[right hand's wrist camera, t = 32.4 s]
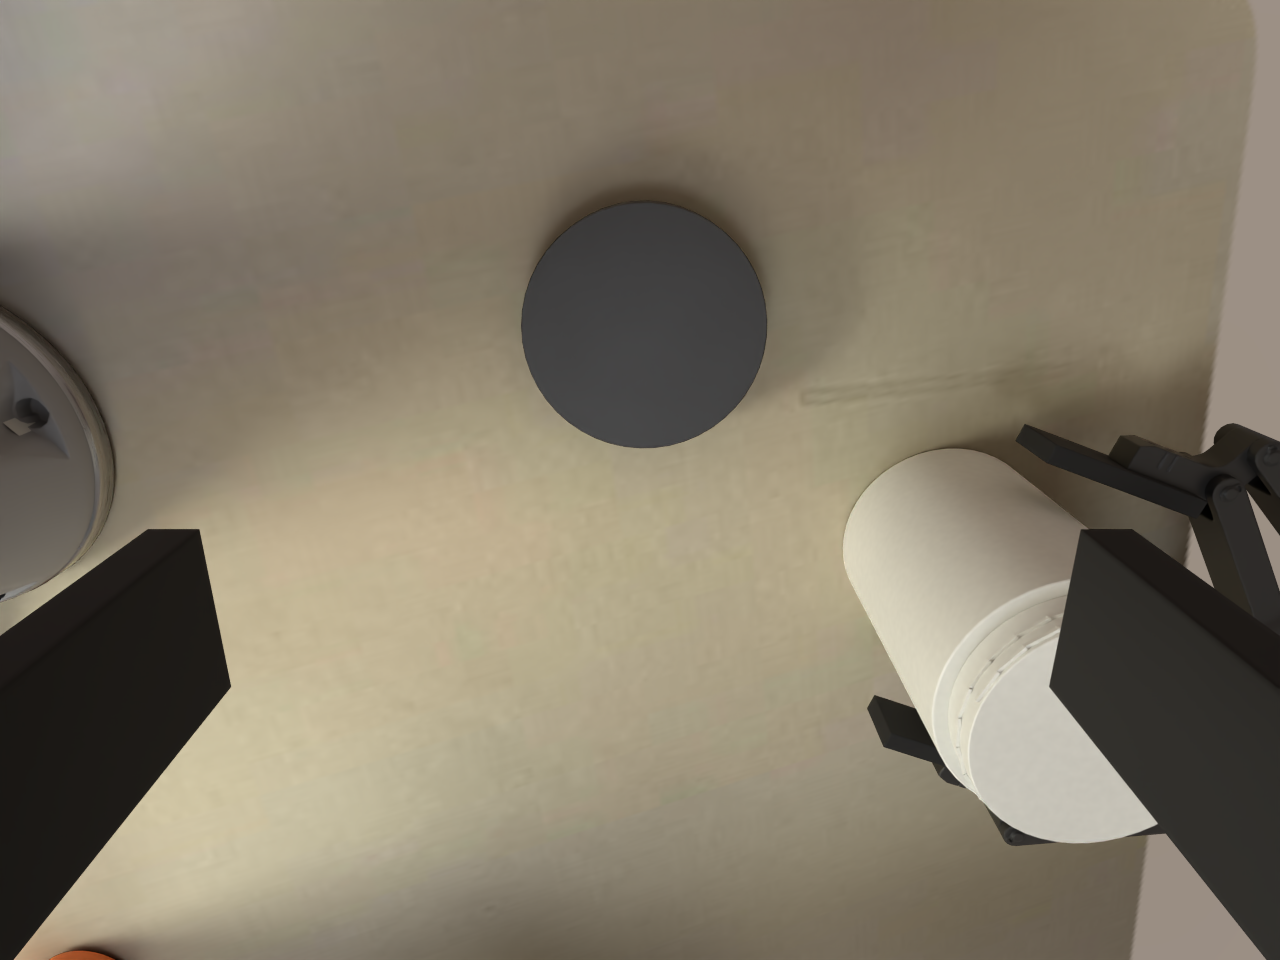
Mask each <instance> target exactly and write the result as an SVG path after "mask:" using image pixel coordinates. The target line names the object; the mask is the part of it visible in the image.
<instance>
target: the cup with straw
mask: <svg viewBox="0 0 1280 960" xmlns="http://www.w3.org/2000/svg"><path fill="white" fill-rule="evenodd" d="M50 960H115V959H113V958H111V957H108V956H106V955H103V954H100V953H95V952H90V951H70V952H65V953H61V954H59V955H56V956H54V957H52V958H51V959H50Z"/></svg>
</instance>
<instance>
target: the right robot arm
mask: <svg viewBox="0 0 1280 960" xmlns="http://www.w3.org/2000/svg"><path fill="white" fill-rule="evenodd" d="M113 486H114V466H113V458H112V451H111V447H110V442H109V438H108V435H107V432H106V429H105V426H104V422H103V420H102V418H101V415H100V413H99V411H98V409H97V406H96V404H95V403H94V401H93V399H92V397H91V395H90V393H89V391H88V390H87V388H86V387H85V385H84V384H83V382H82V381H81V379H80V378H79V376H78V375H77V374H76V372H75V371H74V370H73V368H72V367H71V366H70V365H69V363H68V362H67V361H66V360H65V359H64V358H63V357H62V355H61V354H60V353H59V352H58V351H57V350H56V349H55V348H54V347H53V346H52V345H51V344H50V343H49V342H48V341H47V340H46V339H45V338H44V337H42V336H41V335H40V334H39V333H38V332H37V331H35V330H34V329H33V328H32V327H30V326H29V325H28V324H27V323H25V322H24V321H22V320H21V319H19V318H18V317H16V316H15V315H14V314H12V313H11V312H9V311H7V310H6V309H4V308H2V307H0V602H3V601H6V600H9V599H12V598H15V597H17V596H19V595H21V594H24V593H26V592H29V591H31V590H33V589H35V588H37V587H39V586H41V585H43V584H45V583H46V582H48V581H49V580H51V579H52V578H54V577H55V576H57V575H58V574H59V573H61V572H62V571H64V570H65V569H67V568H68V567H69V566H71V565H72V564H74V563H75V562H76V561H77V560H78V559H79V558H81V557H82V556H83V555H84V554H85V553H86V551H87V550H88V549H89V548H90V547H91V546H92V544H93V543H94V541H95V540H96V538H97V537H98V535H99V534H100V532H101V530H102V528H103V526H104V524H105V522H106V519H107V516H108V513H109V510H110V506H111V501H112V496H113ZM230 688H231V684H230V679H229V674H228V669H227V664H226V659H225V654H224V649H223V644H222V639H221V634H220V629H219V624H218V619H217V614H216V610H215V605H214V600H213V595H212V590H211V585H210V580H209V575H208V570H207V565H206V560H205V555H204V550H203V545H202V540H201V535H200V530H199V529H148V530H146V531H145V532H143V533H142V534H141V535H139V536H138V537H136V538H135V539H134V540H132V541H131V542H130V543H128V544H127V545H125V546H124V547H123V548H121V549H120V550H118V551H117V552H116V553H114V554H113V555H112V556H110V557H109V558H107V559H106V560H105V561H103V562H102V563H100V564H99V565H98V566H96V567H95V568H94V569H92V570H91V571H89V572H88V573H87V574H85V575H84V576H82V577H81V578H80V579H78V580H77V581H76V582H74V583H73V584H71V585H70V586H69V587H67V588H66V589H64V590H63V591H62V592H60V593H59V594H57V595H56V596H55V597H53V598H52V599H51V600H49V601H48V602H46V603H45V604H44V605H42V606H41V607H39V608H38V609H37V610H35V611H34V612H33V613H31V614H30V615H28V616H27V617H26V618H24V619H23V620H21V621H20V622H19V623H17V624H16V625H15V626H13V627H12V628H10V629H9V630H8V631H6V632H5V633H3V634H2V635H1V636H0V960H14V958H15V957H16V956H17V955H18V953H19V952H20V951H21V950H22V948H23V947H24V946H25V945H26V943H27V942H28V941H29V940H30V938H31V937H32V936H33V935H34V933H35V932H36V931H37V930H38V928H39V927H40V926H41V925H42V923H43V922H44V921H45V920H46V918H47V917H48V916H49V915H50V913H51V912H52V911H53V910H54V908H55V907H56V906H57V905H58V903H59V902H60V901H61V900H62V898H63V897H64V896H65V895H66V893H67V892H68V891H69V889H70V888H71V887H72V886H73V884H74V883H75V882H76V881H77V879H78V878H79V877H80V876H81V874H82V873H83V872H84V871H85V869H86V868H87V867H88V866H89V864H90V863H91V862H92V861H93V859H94V858H95V857H96V856H97V854H98V853H99V852H100V851H101V849H102V848H103V847H104V846H105V844H106V843H107V842H108V841H109V839H110V838H111V837H112V836H113V834H114V833H115V832H116V831H117V829H118V828H119V827H120V826H121V824H122V823H123V822H124V821H125V819H126V818H127V817H128V815H129V814H130V813H131V812H132V810H133V809H134V808H135V807H136V805H137V804H138V803H139V802H140V800H141V799H142V798H143V797H144V795H145V794H146V793H147V792H148V790H149V789H150V788H151V787H152V785H153V784H154V783H155V782H156V780H157V779H158V778H159V777H160V775H161V774H162V773H163V772H164V770H165V769H166V768H167V767H168V765H169V764H170V763H171V762H172V760H173V759H174V758H175V757H176V755H177V754H178V753H179V752H180V750H181V749H182V748H183V746H184V745H185V744H186V743H187V741H188V740H189V739H190V738H191V736H192V735H193V734H194V733H195V731H196V730H197V729H198V728H199V726H200V725H201V724H202V723H203V721H204V720H205V719H206V718H207V716H208V715H209V714H210V713H211V711H212V710H213V709H214V708H215V706H216V705H217V704H218V703H219V701H220V700H221V699H222V698H223V696H224V695H225V694H226V693H227V691H228V690H229V689H230ZM1049 688H1050V689H1051V690H1052V691H1053V693H1054V694H1055V695H1056V696H1057V698H1058V699H1059V700H1060V701H1061V703H1062V704H1063V705H1064V706H1065V708H1066V709H1067V710H1068V711H1069V713H1070V714H1071V715H1072V716H1073V718H1074V719H1075V720H1076V721H1077V723H1078V724H1079V725H1080V726H1081V728H1082V729H1083V730H1084V731H1085V733H1086V734H1087V735H1088V736H1089V738H1090V739H1091V740H1092V741H1093V743H1094V744H1095V745H1096V746H1097V748H1098V749H1099V750H1100V752H1101V753H1102V754H1103V755H1104V757H1105V758H1106V759H1107V760H1108V762H1109V763H1110V764H1111V765H1112V767H1113V768H1114V769H1115V770H1116V772H1117V773H1118V774H1119V775H1120V777H1121V778H1122V779H1123V780H1124V782H1125V783H1126V784H1127V785H1128V787H1129V788H1130V789H1131V790H1132V792H1133V793H1134V794H1135V795H1136V797H1137V798H1138V799H1139V800H1140V802H1141V803H1142V804H1143V805H1144V807H1145V808H1146V809H1147V810H1148V812H1149V813H1150V814H1151V815H1152V817H1153V818H1154V819H1155V821H1156V822H1157V823H1158V824H1159V826H1160V827H1161V828H1162V829H1163V831H1164V832H1165V833H1166V834H1167V836H1168V837H1169V838H1170V839H1171V841H1172V842H1173V843H1174V844H1175V846H1176V847H1177V848H1178V849H1179V851H1180V852H1181V853H1182V854H1183V856H1184V857H1185V858H1186V859H1187V861H1188V862H1189V863H1190V864H1191V866H1192V867H1193V868H1194V869H1195V871H1196V872H1197V873H1198V874H1199V876H1200V877H1201V878H1202V879H1203V881H1204V882H1205V883H1206V884H1207V886H1208V887H1209V888H1210V889H1211V891H1212V892H1213V893H1214V894H1215V896H1216V897H1217V898H1218V900H1219V901H1220V902H1221V903H1222V905H1223V906H1224V907H1225V908H1226V910H1227V911H1228V912H1229V913H1230V915H1231V916H1232V917H1233V918H1234V920H1235V921H1236V922H1237V923H1238V925H1239V926H1240V927H1241V928H1242V930H1243V931H1244V932H1245V933H1246V935H1247V936H1248V937H1249V938H1250V940H1251V941H1252V942H1253V943H1254V945H1255V946H1256V947H1257V948H1258V950H1259V951H1260V952H1261V953H1262V955H1263V956H1264V957H1265V958H1266V960H1280V636H1279V635H1278V634H1277V633H1275V632H1274V631H1272V630H1271V629H1270V628H1268V627H1267V626H1265V625H1264V624H1263V623H1261V622H1260V621H1259V620H1257V619H1256V618H1254V617H1253V616H1252V615H1250V614H1249V613H1247V612H1246V611H1245V610H1243V609H1242V608H1241V607H1239V606H1238V605H1236V604H1235V603H1234V602H1232V601H1231V600H1229V599H1228V598H1227V597H1225V596H1224V595H1222V594H1221V593H1220V592H1218V591H1217V590H1216V589H1214V588H1213V587H1211V586H1210V585H1209V584H1207V583H1206V582H1204V581H1203V580H1202V579H1200V578H1199V577H1198V576H1196V575H1195V574H1193V573H1192V572H1191V571H1189V570H1188V569H1186V568H1185V567H1184V566H1182V565H1181V564H1180V563H1178V562H1177V561H1175V560H1174V559H1173V558H1171V557H1170V556H1168V555H1167V554H1166V553H1164V552H1163V551H1162V550H1160V549H1159V548H1157V547H1156V546H1155V545H1153V544H1152V543H1150V542H1149V541H1148V540H1146V539H1145V538H1144V537H1142V536H1141V535H1139V534H1138V533H1137V532H1135V531H1134V530H1132V529H1081V530H1080V535H1079V540H1078V545H1077V550H1076V555H1075V560H1074V565H1073V570H1072V575H1071V580H1070V585H1069V590H1068V595H1067V600H1066V605H1065V610H1064V614H1063V619H1062V624H1061V629H1060V634H1059V639H1058V644H1057V649H1056V654H1055V659H1054V664H1053V669H1052V674H1051V679H1050V684H1049Z"/></svg>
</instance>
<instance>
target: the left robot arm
mask: <svg viewBox="0 0 1280 960" xmlns="http://www.w3.org/2000/svg"><path fill="white" fill-rule="evenodd" d="M1016 441H1017V442H1018V443H1019V444H1021V445H1022V446H1024V447H1025V448H1026V449H1028V450H1029V451H1031V452H1032V453H1033V454H1035V455H1036V456H1038V457H1039V458H1041V459H1042V460H1043V461H1045V462H1046V463H1048V464H1051V465H1054V466H1056V467H1059V468H1062V469H1064V470H1067V471H1070V472H1072V473H1075V474H1078V475H1080V476H1083V477H1086V478H1088V479H1091V480H1094V481H1096V482H1099V483H1102V484H1104V485H1107V486H1110V487H1112V488H1115V489H1118V490H1120V491H1123V492H1126V493H1128V494H1131V495H1134V496H1136V497H1139V498H1142V499H1145V500H1147V501H1150V502H1153V503H1155V504H1158V505H1161V506H1163V507H1166V508H1169V509H1171V510H1174V511H1177V512H1179V513H1182V514H1185V515H1187V516H1189V519H1190V522H1191V525H1192V527H1193V530H1194V533H1195V536H1196V538H1197V541H1198V544H1199V547H1200V550H1201V552H1202V555H1203V558H1204V561H1205V563H1206V566H1207V569H1208V572H1209V575H1210V577H1211V580H1212V583H1213V586H1214V588H1215V589H1216V590H1217V591H1218V592H1220V593H1221V594H1222V595H1224V596H1225V597H1227V598H1228V599H1229V600H1231V601H1232V602H1234V603H1235V604H1236V605H1238V606H1239V607H1241V608H1242V609H1243V610H1245V611H1246V612H1247V613H1249V614H1250V615H1252V616H1253V617H1254V618H1256V619H1257V620H1259V621H1260V622H1261V623H1263V624H1264V625H1265V626H1267V627H1268V628H1270V629H1271V630H1272V631H1274V632H1275V633H1277V634H1278V635H1279V636H1280V591H1279V588H1278V585H1277V582H1276V579H1275V576H1274V573H1273V570H1272V567H1271V564H1270V561H1269V558H1268V554H1267V551H1266V548H1265V545H1264V542H1263V539H1262V536H1261V533H1260V530H1259V527H1258V524H1257V521H1256V518H1255V515H1254V512H1253V509H1252V506H1251V503H1250V500H1249V497H1248V494H1247V491H1248V493H1249V494H1250V495H1251V497H1252V498H1253V499H1254V501H1255V502H1256V504H1257V505H1258V506H1259V508H1260V509H1261V510H1262V512H1263V513H1264V515H1265V516H1266V517H1267V519H1268V520H1269V521H1270V523H1271V524H1272V525H1273V527H1274V528H1275V530H1276V531H1277V532H1278V534H1279V535H1280V442H1279V441H1277V440H1274V439H1272V438H1270V437H1267V436H1265V435H1262V434H1260V433H1258V432H1255V431H1253V430H1250V429H1248V428H1246V427H1243V426H1241V425H1238V424H1234V423H1232V424H1227V425H1225V426H1223V427H1221V428H1220V429H1219V430H1218V431H1217V433H1216V435H1215V437H1214V445H1213V446H1212V447H1211V448H1210V449H1208V450H1207V451H1206V452H1204V453H1202V454H1200V455H1196V456H1191V455H1189V454H1187V453H1185V452H1176V451H1174V450H1171V449H1169V448H1166V447H1163V446H1161V445H1158V444H1155V443H1153V442H1150V441H1148V440H1145V439H1143V438H1140V437H1137V436H1135V435H1123V436H1120V437H1119V439H1118V440H1117V442H1116V444H1115V445H1114V447H1113V449H1112V450H1111V452H1110V454H1109V455H1105V454H1103V453H1100V452H1098V451H1095V450H1092V449H1090V448H1087V447H1084V446H1082V445H1079V444H1076V443H1074V442H1071V441H1069V440H1066V439H1063V438H1061V437H1058V436H1055V435H1053V434H1050V433H1047V432H1045V431H1042V430H1040V429H1037V428H1034V427H1032V426H1029V425H1026V424H1025V425H1024V426H1023V428H1022V430H1021V432H1020V434H1019V435H1018V437H1017V439H1016ZM1246 490H1247V491H1246ZM867 709H868V711H869V714H870V716H871V718H872V721H873V723H874V725H875V728H876V730H877V732H878V735H879V737H880V739H881V742H882V744H883V747H886V748H889V749H892V750H895V751H898V752H901V753H905V754H908V755H911V756H914V757H917V758H920V759H923V760H927V761H930V762H932V763H933V765H934V767H935V769H936V771H937V773H938V775H939V776H940V777H941V778H942V779H943V780H945V781H946V782H947V783H950V784H953V785H957V786H960V787H963V788H966V787H965V786H964V785H963V784H962V783H961V782H960V781H959V780H957V779H956V778H955V776H954V775H953V774H952V773H951V772H950V770H949V769H948V768H947V767H946V765H945V763H944V761H943V760H942V758H941V756H940V754H939V752H938V750H937V749H936V747H935V745H934V743H933V741H932V739H931V737H930V735H929V733H928V731H927V729H926V727H925V725H924V723H923V721H922V719H921V718H920V716H919V714H918V712H917V710H916V709H915V708H912V707H909V706H906V705H903V704H900V703H897V702H894V701H891V700H888V699H885V698H882V697H879V696H876V695H874V697H873V699H872V701H871V702H870V704H869V706H868V708H867ZM967 789H968V788H967ZM984 804H985V803H984ZM985 806H986V808H987V809H988V811H989V813H990V815H991V817H992V819H993V820H994V822H995V824H996V826H997V828H998V830H999V831H1000V833H1001V835H1002V837H1003V839H1004V841H1005V842H1006V843H1007V844H1009V845H1012V846H1020V845H1032V844H1044V843H1056V842H1055V841H1050V840H1045V839H1041V838H1037V837H1035V836H1032V835H1029V834H1026V833H1024V832H1022V831H1019V830H1017V829H1015V828H1013V827H1012V826H1010V825H1009V824H1007V823H1006V822H1004V821H1003V820H1001V819H1000V818H999V817H998V816H996V815H995V814H994V813H993V812H992V811H991V810H990V809H989V808H988V807H987V805H986V804H985ZM1153 834H1165V832H1164V831H1163V829H1162V828H1161V827H1160V826H1159V824H1157V825H1155V826H1152V827H1150V828H1148V829H1145V830H1143V831H1140V832H1138V833H1135V834H1132V835H1128V836H1125V837H1129V836H1141V835H1153Z"/></svg>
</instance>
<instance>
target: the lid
mask: <svg viewBox="0 0 1280 960" xmlns="http://www.w3.org/2000/svg"><path fill="white" fill-rule="evenodd" d="M521 330H522V343H523V348H524V352H525V357H526V360H527V363H528V366H529V369H530V372H531V374H532V376H533V378H534V380H535V382H536V384H537V386H538V388H539V390H540V391H541V393H542V394H543V396H544V397H545V399H546V400H547V401H548V402H549V404H550V405H551V406H552V407H553V408H554V409H555V410H556V412H557V413H559V414H560V415H561V416H562V417H563V418H564V419H565V420H566V421H568V422H569V423H570V424H572V425H573V426H575V427H576V428H578V429H579V430H580V431H582V432H584V433H586V434H588V435H590V436H592V437H594V438H596V439H599V440H602V441H604V442H607V443H610V444H615V445H619V446H623V447H633V448H657V447H663V446H670V445H673V444H677V443H681V442H684V441H687V440H689V439H691V438H694V437H696V436H698V435H700V434H702V433H704V432H705V431H707V430H709V429H711V428H712V427H714V426H715V425H716V424H718V423H719V422H720V421H722V420H723V419H724V418H725V417H726V416H727V415H728V414H729V413H730V412H731V411H732V410H733V409H734V408H735V407H736V406H737V405H738V404H739V402H740V401H741V400H742V399H743V397H744V396H745V395H746V393H747V391H748V390H749V388H750V386H751V385H752V383H753V381H754V379H755V377H756V374H757V372H758V370H759V368H760V364H761V361H762V357H763V354H764V349H765V343H766V337H767V315H766V306H765V301H764V296H763V292H762V288H761V286H760V283H759V280H758V278H757V275H756V273H755V271H754V269H753V267H752V265H751V264H750V262H749V260H748V258H747V257H746V256H745V254H744V253H743V252H742V250H741V249H740V247H739V246H738V245H737V244H736V243H735V242H734V241H733V240H732V239H731V238H730V237H729V236H728V235H727V234H726V233H725V232H724V231H723V230H721V229H720V228H719V227H717V226H716V225H715V224H714V223H712V222H711V221H709V220H708V219H706V218H704V217H702V216H701V215H699V214H697V213H695V212H693V211H691V210H688V209H686V208H683V207H681V206H677V205H673V204H669V203H665V202H657V201H630V202H624V203H618V204H615V205H611V206H608V207H605V208H602V209H600V210H598V211H596V212H593V213H591V214H589V215H587V216H586V217H584V218H583V219H581V220H579V221H578V222H576V223H575V224H573V225H572V226H571V227H570V228H568V229H567V230H566V231H565V232H564V233H563V234H562V235H560V236H559V237H558V238H557V239H556V240H555V241H554V243H553V244H552V245H551V246H550V247H549V248H548V249H547V251H546V252H545V254H544V255H543V257H542V258H541V260H540V261H539V263H538V264H537V266H536V268H535V270H534V272H533V274H532V277H531V279H530V281H529V284H528V287H527V290H526V293H525V298H524V303H523V309H522V322H521Z"/></svg>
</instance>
